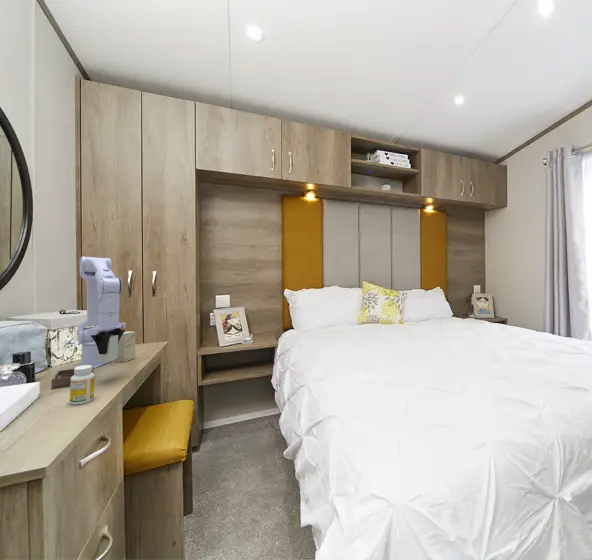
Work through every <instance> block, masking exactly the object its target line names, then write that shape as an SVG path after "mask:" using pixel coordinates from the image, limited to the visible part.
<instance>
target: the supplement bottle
mask: <svg viewBox="0 0 592 560" xmlns="http://www.w3.org/2000/svg"><path fill="white" fill-rule="evenodd" d="M77 366H78V365H77ZM73 369H74V374H75V375H73V376H72V377H71V383H70V386H69V387H70V389H69V404H70V405H73V406H74V405H75V406H78V405H83V404H87V403H89V402H91V401H93V400H94V398H95V376H96V375H95V372H94V373H92V372H91V371H92V366H91V365H83V366H78V367H76V368H75V367H74V368H73Z"/></svg>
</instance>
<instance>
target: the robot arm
mask: <svg viewBox="0 0 592 560" xmlns="http://www.w3.org/2000/svg"><path fill="white" fill-rule="evenodd" d="M112 265H113V264H112V260H111V258H109V257H94V256H93V257H92V256H84V255H83V256H81V257H80V259H79V275H80V278H82V279H83V280H85V283H86V319H85V320H84V321H82V322H81V323H79V325H78V326H77V333H76V334H77V335H76V336H77V337H76V338H77V339H76V340H77V344H79V345H81V362H80V363H81V364H78V365H76V366H75V367H74V368H76V367H78V366H83V365H91V366H94V369H96V368H99V367H101V366H103V365H106V364H108V363H111V362H113V360H111V361H98V352H99V354H106V353H107V349H108V342H109V339H110V336H111V335H118V343H119V340H120V338H121V336H122V335H123V333H124V332H125V328H126V325H127V322H120V295H122V294H121V293H123V292H122V291H123V281H122V278H121V277H116V275H115V274H114V272H113V270H112V268H113V266H112Z"/></svg>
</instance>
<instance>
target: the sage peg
mask: <svg viewBox="0 0 592 560" xmlns="http://www.w3.org/2000/svg"><path fill="white" fill-rule="evenodd" d="M116 358H118V335H111V336H110V339H109V342H108V349H107V353H106V354H99V352H98V361H111V360H112V361H113V360H115V359H116ZM112 361H111V362H112Z"/></svg>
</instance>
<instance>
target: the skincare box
mask: <svg viewBox="0 0 592 560" xmlns="http://www.w3.org/2000/svg"><path fill="white" fill-rule="evenodd" d="M133 358H135V359H136V331H130V330H128V331H127V330H126V331H124V333H123V335H122V336H121V338H120V340H119V343H118V358H116V359H114V360H115V362H116V361H119V362H118V363H126V362H129V361H132V360H131V359H133ZM128 360H129V361H128ZM133 360H134V359H133ZM125 361H126V362H125Z"/></svg>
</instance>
